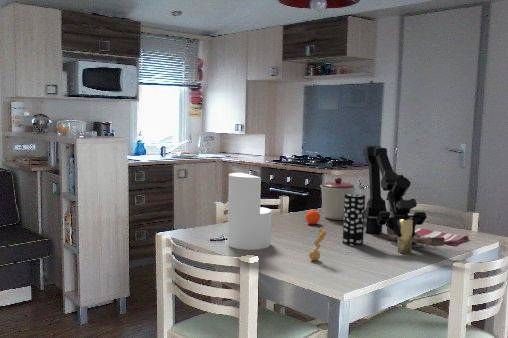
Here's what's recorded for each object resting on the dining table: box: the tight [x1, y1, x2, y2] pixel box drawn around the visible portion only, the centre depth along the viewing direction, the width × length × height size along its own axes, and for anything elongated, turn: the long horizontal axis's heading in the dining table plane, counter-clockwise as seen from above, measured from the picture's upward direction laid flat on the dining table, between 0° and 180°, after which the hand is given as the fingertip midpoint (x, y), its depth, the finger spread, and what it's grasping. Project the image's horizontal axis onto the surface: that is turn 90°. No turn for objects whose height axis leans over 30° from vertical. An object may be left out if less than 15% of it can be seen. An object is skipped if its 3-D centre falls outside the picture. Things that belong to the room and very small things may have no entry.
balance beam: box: [386, 221, 445, 247], centre depth 207 cm, size 29×5×7 cm, turn 21°
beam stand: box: [390, 232, 425, 249], centre depth 211 cm, size 8×10×5 cm
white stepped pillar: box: [227, 172, 272, 251], centre depth 206 cm, size 17×17×28 cm
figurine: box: [308, 228, 327, 262], centre depth 185 cm, size 8×6×12 cm
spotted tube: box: [342, 193, 366, 247], centre depth 212 cm, size 8×8×20 cm
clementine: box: [305, 209, 321, 225], centre depth 248 cm, size 8×7×7 cm
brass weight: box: [397, 218, 413, 255], centre depth 199 cm, size 5×5×13 cm
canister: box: [319, 176, 357, 221], centre depth 263 cm, size 18×18×21 cm
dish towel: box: [415, 227, 469, 247], centre depth 226 cm, size 17×23×3 cm
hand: (406, 236), depth 198 cm, fingers closed on brass weight, 5 cm apart
